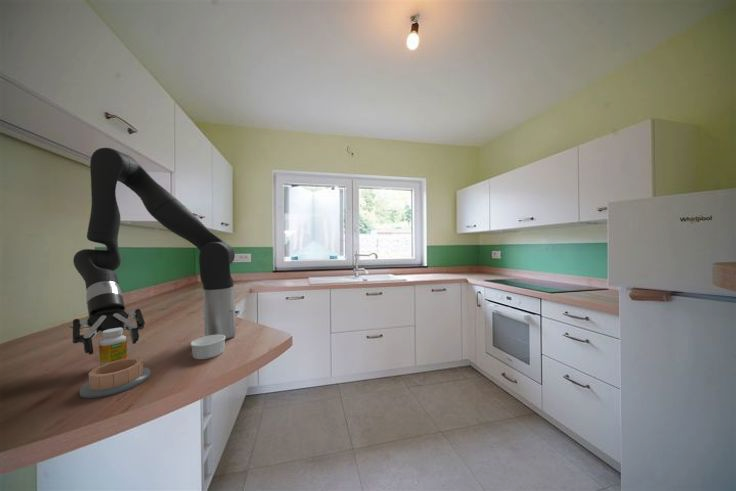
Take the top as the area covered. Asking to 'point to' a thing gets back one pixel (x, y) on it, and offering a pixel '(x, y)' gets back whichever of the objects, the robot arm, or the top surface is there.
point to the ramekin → (208, 346)
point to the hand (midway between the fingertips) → (114, 347)
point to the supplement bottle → (112, 346)
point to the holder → (115, 378)
